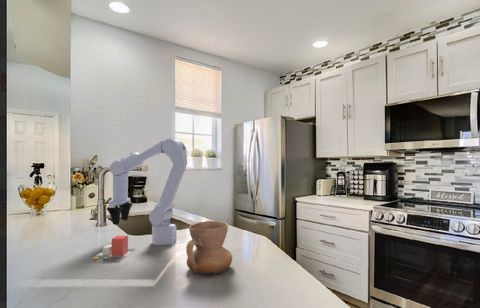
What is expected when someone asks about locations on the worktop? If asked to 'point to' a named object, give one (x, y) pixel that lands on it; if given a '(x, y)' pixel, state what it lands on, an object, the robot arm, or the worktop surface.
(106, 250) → the block
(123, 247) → the block
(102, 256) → the breaker panel
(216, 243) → the ceramic jug
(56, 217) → the worktop surface
